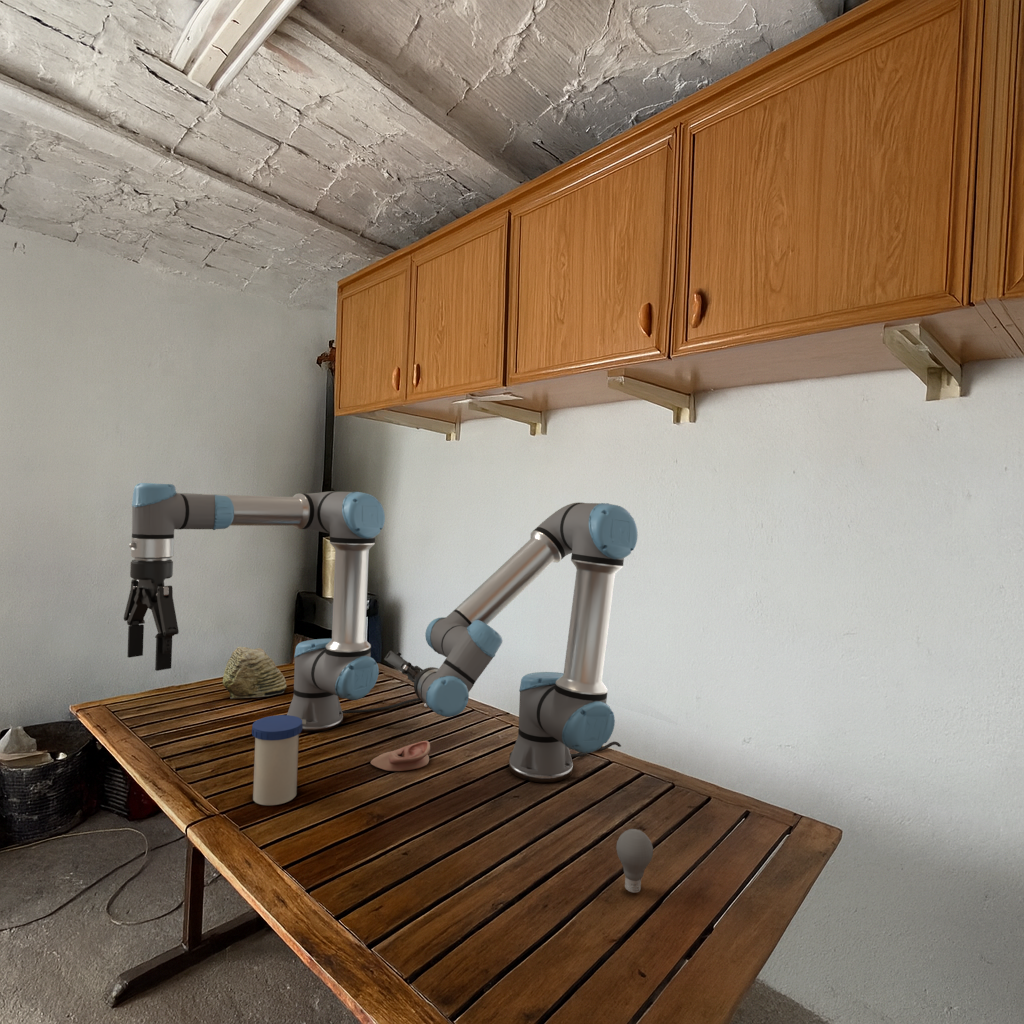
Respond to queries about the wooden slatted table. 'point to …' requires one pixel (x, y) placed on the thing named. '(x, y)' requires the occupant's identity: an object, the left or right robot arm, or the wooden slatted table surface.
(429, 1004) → the wooden slatted table surface
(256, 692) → the fossil
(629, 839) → the light bulb
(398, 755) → the anatomical model
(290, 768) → the jar
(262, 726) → the lid
